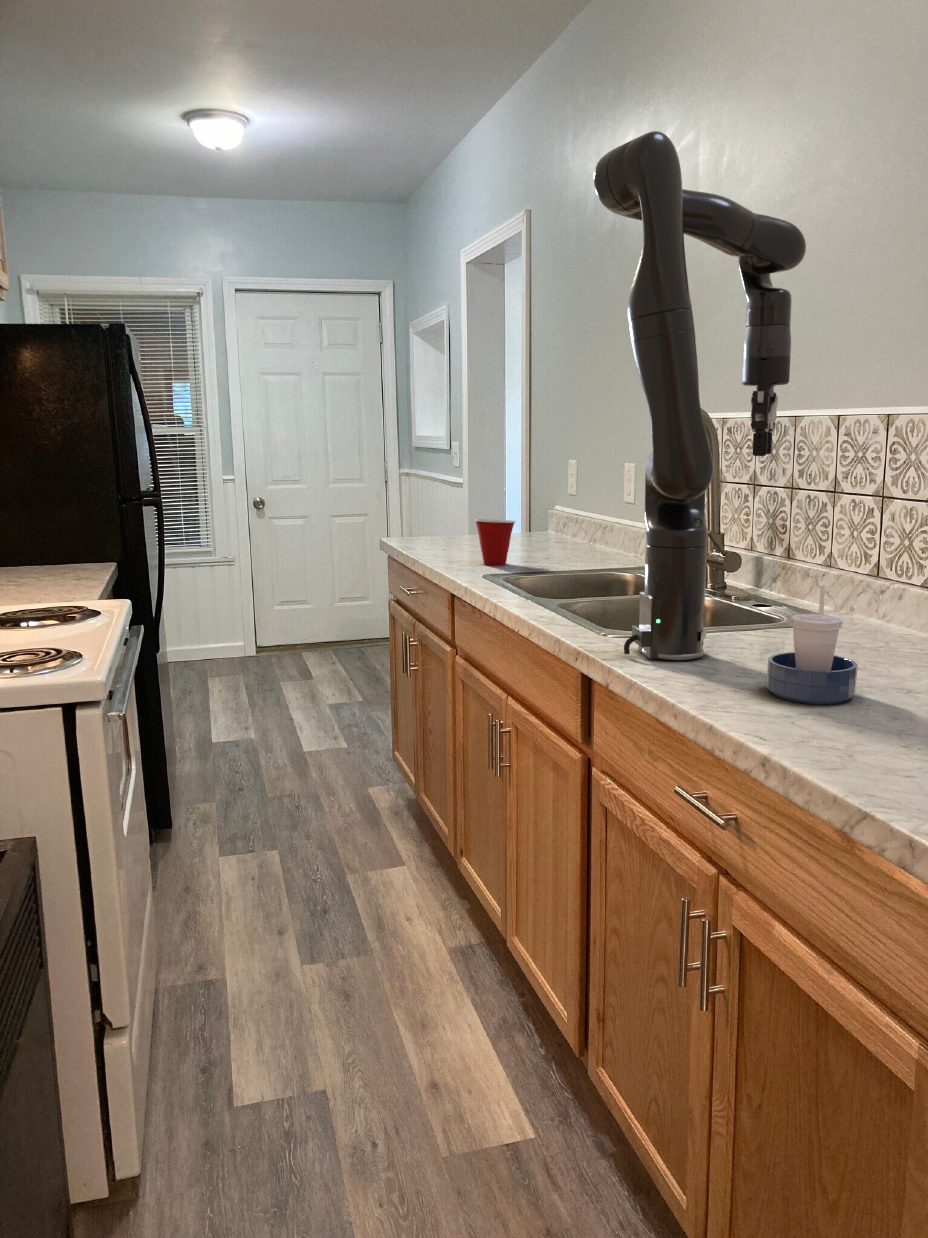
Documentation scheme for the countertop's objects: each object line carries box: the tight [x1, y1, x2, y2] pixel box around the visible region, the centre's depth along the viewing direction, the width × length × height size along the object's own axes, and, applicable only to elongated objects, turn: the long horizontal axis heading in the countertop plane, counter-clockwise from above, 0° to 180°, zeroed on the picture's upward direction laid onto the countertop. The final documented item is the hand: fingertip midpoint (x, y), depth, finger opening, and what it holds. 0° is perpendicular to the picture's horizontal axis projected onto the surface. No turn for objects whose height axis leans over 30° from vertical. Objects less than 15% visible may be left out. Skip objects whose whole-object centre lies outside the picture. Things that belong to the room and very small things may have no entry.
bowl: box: [766, 651, 858, 705], centre depth 128 cm, size 11×11×4 cm
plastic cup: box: [474, 518, 517, 567], centre depth 251 cm, size 11×11×12 cm
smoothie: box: [789, 584, 843, 671], centre depth 127 cm, size 6×6×14 cm
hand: (762, 455), depth 162 cm, fingers open, 8 cm apart
